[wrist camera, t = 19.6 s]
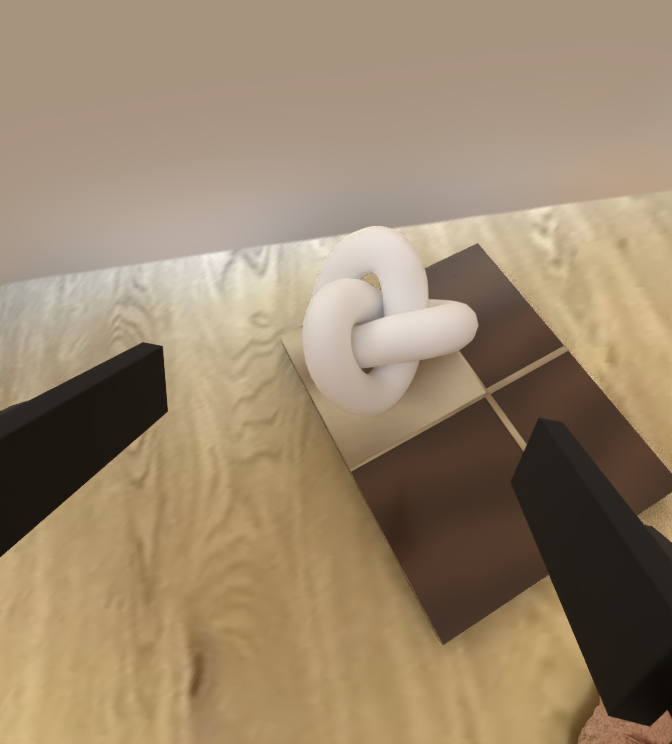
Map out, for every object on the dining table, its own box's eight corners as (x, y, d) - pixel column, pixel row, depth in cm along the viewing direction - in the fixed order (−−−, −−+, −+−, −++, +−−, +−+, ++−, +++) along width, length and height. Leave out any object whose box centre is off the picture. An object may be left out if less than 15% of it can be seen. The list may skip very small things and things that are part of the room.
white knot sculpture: (407, 458, 26) (438, 435, 18) (267, 384, 28) (235, 331, 20) (465, 334, 29) (514, 265, 21) (336, 276, 32) (334, 193, 23)
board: (282, 344, 31) (279, 336, 30) (472, 253, 34) (478, 241, 33) (437, 637, 24) (443, 646, 22) (664, 486, 26) (684, 485, 25)
